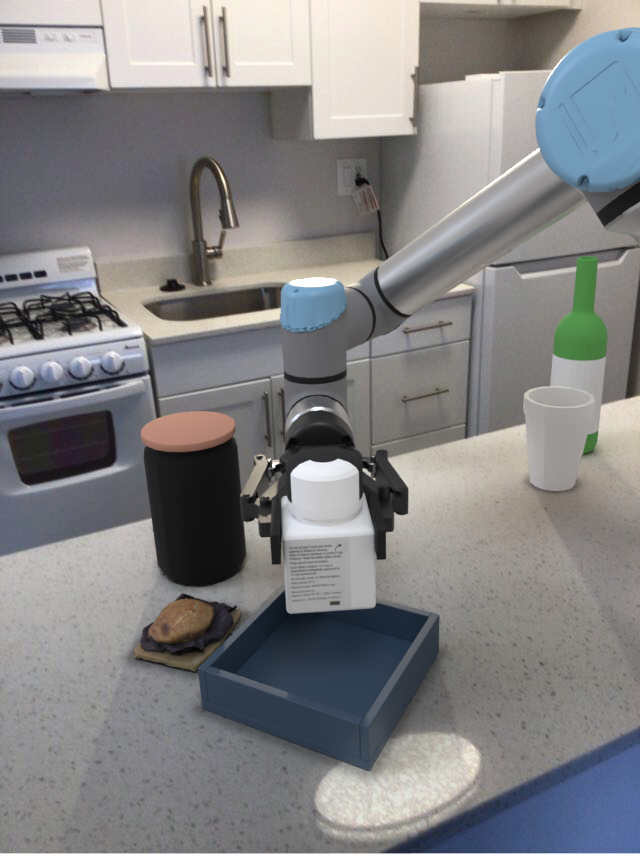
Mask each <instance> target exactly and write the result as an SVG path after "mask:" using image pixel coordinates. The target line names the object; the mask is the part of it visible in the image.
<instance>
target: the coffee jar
mask: <svg viewBox="0 0 640 854" xmlns="http://www.w3.org/2000/svg"><path fill="white" fill-rule="evenodd" d="M235 421H236V420H235V419H234V418H232V417H231V416H229V415H227V414H224V413H221V412H216V411H210V410H209V411H208V410H189V411H181V412H175V413H171V414H166V415H163V416H160V417H157V418H154V419H153V420H151V421H149V422H148V423H146V424H144V426H143V427H142V428H141V430H140V438H141V442H142V443H143V444H144V445H145V447H144V449H143V464H144V472H145V480H146V487H147V496H148V501H149V502H148V503H149V509H150V517H151V525H152V533H153V540H154V541H153V542H154V548H155V554H156V564H157V567H158V568H159V570H160V571H161V572H162V574H163V575H164V576H166V578H167V579H168V580H170V581H171V582H173V583H175V584H178V585H182V586H186V587H203V586H211V585H215V584H217V583H220V582H223V581H226V580H227V579H229V578H231V577H233V576H234V575H235V574H236V573H237V572H238V571H239V570H240V568H241V566H242V565H243V563H244V561H245V559H246V556H247V545H246V532H245V522H244V521H242V518H241V506H240V494H241V492H242V484H241V483H242V482H241V473H240V472H241V471H240V460H239V459H240V458H239V448H238V444H237V440H236V438H235V437H234V435H235V433H236V431H237V430H236V429H237V426H236V422H235Z"/></svg>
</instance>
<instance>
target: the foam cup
mask: <svg viewBox="0 0 640 854" xmlns="http://www.w3.org/2000/svg"><path fill="white" fill-rule="evenodd" d="M594 406H595V399H594V396H593V395H591V394H590V393H588V392H586V391H583V390H579V389H575V388H571V387H560V386H550V385H548V386H539V387H534V388H530V389H528V390H526V391H525V392H524V393H523V406H522V407H523V415H524V417H525V420H524V421H525V431H526V432H525V433H526V448H527V461H528V462H527V463H528V473H529V474H528V475H529V484H531V485H533V486H534V488H538V489H540V490H543V491H551V492H564V491H568V490H571V489H573V488H574V486H575V485H576V482H577V478H578V474H579V471H580V466H581V463H582V458H583V455H584V454H583V450H584V446H585V442H586V438H587V434H588V430H589V426H590V422H591V418H592V417H593V416H594Z"/></svg>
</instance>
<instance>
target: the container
mask: <svg viewBox="0 0 640 854" xmlns="http://www.w3.org/2000/svg"><path fill="white" fill-rule="evenodd" d="M285 467H286V485H287V496H283V497H282V498H281V521H282V558H283V560H282V561H283V575H284V582H285V595H286V610H287V612H288V613H290V614H297V613H311V612H326V611H341V610H356V609H371V608H374V607H375V605H376V598H377V577H376V576H377V575H376V574H377V573H376V572H377V569H376V565H377V564H376V563H377V561H376V560H377V557H376V552H375V530H374V526H373V522H372V519H371V515H370V511H369V508H368V504H367V500H366V497H365V494H364V493H363V472H364V471H363V470H364V468H363V464H362V461H361V460H360V458H359V457H358V456H357V455H356V454H354V453H352V452H350V451H347V450H344V449H340V448H335V447H316V448H311V449H307V450H304V451H301V452H299V453H297V454H295V455H293V456H292V457H291V458H290V459H289V460H288V462H287V463H286V466H285Z"/></svg>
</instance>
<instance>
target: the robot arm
mask: <svg viewBox="0 0 640 854" xmlns="http://www.w3.org/2000/svg"><path fill="white" fill-rule="evenodd" d="M534 124H535V126H534V127H535V129H534V130H535V137H536V138H535V139H536V142H537V146H538V148H537V149H535V150H534V151H533V152H532V153H530V154H528V156H525V158H523V159H522V160H521V161H519V162H518V163H516V164H515V165H514V166H513V167H511V168H510V169H508V170H507V171H506V172H505V173H503V174H502V175H500V176H499V177H498V178H496V179H494V180H493V181H492V182H491V183H489V184H488V185H486V186H485V187H484V188H482V189H481V190H480V191H479V192H477V193H476V194H474V195H472V196H471V197H470V198H469V199H468V200H466V201H465V202H463V203H462V204H461V205H459V206H458V207H457V208H456V209H454V210H453V211H451V212H450V213H448V214H447V215H446V216H444V217H443V218H442V219H440V220H439V221H438V222H436V223H435V224H433V225H432V226H431V227H429V228H428V229H427V230H425V231H424V232H422V233H421V234H420V235H418V236H417V237H416V238H414V239H413V240H412V241H410V242H408V244H406V245H405V246H404V247H402V248H401V249H399V250H398V251H396V252H395V253H394V254H393V255H391V256H390V257H388V258H387V259H386V260H384V261H383V262H382V263H380V264H379V265H378V266H377V267H375V268H373V269H372V270H370V271H369V272H368V273H366V274H365V275H364V276H363V277H361V278H360V279H359V280H357V281H355V282H353V283H350V284H347V285H345V286H344V284H343V283H342V282H341V281H340V280H338V279H335V278H331V277H329V278H327V277H307V278H306V277H305V278H303V279H294V280H290V281H288V282H287V283H284V285H283V286H282V288H281V291H280V313H279V324H280V332H281V333H280V334H281V348H282V363H283V386H284V387H283V389H284V413H285V415H284V416H285V425H284V453H282V454H281V455H280V457H279V458H278V459H272V458H267V456H266V455H265V454H262V453H259V454H256V455H253V469H252V471H251V472H250V475H249V477H248V478H247V481H246V482H245V484H244V486H243V488H242V489H241V494H240V506H241V518H242V521H244V523H250V522H253V521H254V520H255V519H257V524H258V536H259V537H260V538H263V539H264V538H269V540H270V541H269V543H270V557H271V558H270V559H271V565H272V566H274V565H277V566H278V565H282V547H283V544H282V521H281V498H282V497H283V496H287V485H286V467H285V466H286V463H287V462H288V460H289V459H290V458H291V457H292V456H293V455H295V454H297V453H299V452H301V451H304V450H307V449H311V448H316V447H335V448H340V449H344V450H347V451H350V452H352V453H354V454H356V455H357V456H358V457H359V458H360V460H361V461H362V464H363V470H364V469H365V470H366V471H367V472H368V473H370V475H368V474H367V473H366V472H365V471H363V493H364V494H365V497H366V500H367V504H368V508H369V511H370V515H371V519H372V522H373V526H374V530H375V556H376V560H377V561H379V560H382V561H383V560H387V533H393V532H394V530H395V514H396V515H398V516H406V515H408V514H409V495H410V494H409V493H410V492H409V487H408V485H407V484H406V483H405V481H404V480H403V478H402V477H401V475H400V474H399V473H398V471H397V470H396V469H395V467H394V466H393V464H392V463H391V462H390V461H389V451H388V450H387V449H384V448H383V449H377V450H376V451H375V454H370V455H367V456H366V455H363V454H362V453H361V451H360V450H358V449H356V443H355V438H354V434H353V428H352V424H351V419H350V416H349V409H348V407H349V406H348V380H347V379H348V367H347V366H348V362H347V360H348V359H347V358H348V357H347V356H348V355H347V354H348V353H347V352H349V351H350V350H352V349H355V348H356V347H359V346H361V345H363V344H365V343H367V342H369V341H372V340H373V339H377V338H378V337H380V336H387V335H388V334H390V333H392V332H393V331H395V330H397V329H398V328H400V326H402V325H403V324H404V323H405V322H406V321H407V320H408V319H410V318H411V317H412V316H413V315H415V314H417V313H418V312H419V311H421V310H423V309H424V308H426V307H427V306H429V305H430V304H432V303H433V302H436V301H437V300H438V299H440V298H441V297H443V296H444V295H446V294H447V293H449V292H451V291H452V290H454V289H455V288H457V287H459V286H460V285H461V284H463V283H464V282H466V281H468V280H469V279H471V278H472V277H474V276H475V275H477V274H478V273H480V272H481V271H483V270H485V269H486V268H488V267H489V266H491V265H493V264H494V263H496V262H497V261H498V260H500V259H502V258H503V257H506V255H508V254H509V253H511V252H513V251H514V250H516V249H517V248H519V247H520V246H522V245H524V244H525V243H526V242H529V241H530V240H531V239H533V238H534V237H536V236H538V235H539V234H541V233H542V232H544V231H546V230H547V229H548V228H550V227H551V226H553V225H555V224H556V223H558V222H560V221H561V220H562V219H564V218H566V217H567V216H569V215H570V214H571V213H574V212H575V211H576V210H578V209H579V208H581V207H583V206H584V205H586V204H587V203H588V204H589V205H590V207H591V208H592V210H593V212H594V213H595V216H596V217H597V218H598V220H599V221H600V223H601V225H602V226H603V228H604V229H605V231H606V232H611V233H617V234H620V235H621V234H622V235H626V236H629V237H631V238H633V239H634V241H635V242H636V244H637V246H638V247H639V248H640V27H637V26H636V27H634V26H633V27H632V26H630V27H624V28H619V29H612V30H608V31H603V32H599V33H597V34H596V35H595V34H594V35H593V36H591V37H589V38H587V39H585V40H584V41H582V42H580V43H578V44H577V45H576V46H574V47H573V48H572V49H571V50H569V51H568V52H567V53H566V54H565V55H564V56H563V57H562V58H561V59H560V60H559V62H558V63H557V64H556V65H555V66H554V68H553V69H552V71H551V72H550V74H549V75H548V78H546V80H545V83H544V85H543V87H542V90H541V92H540V95H539V99H538V101H537V106H536V111H535V121H534ZM278 473H280V474H281V475H280V476H279V478H277V479H276V480H275V481H274V477H275V476H277V474H278ZM270 483H272V484H271V485H270Z"/></svg>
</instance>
